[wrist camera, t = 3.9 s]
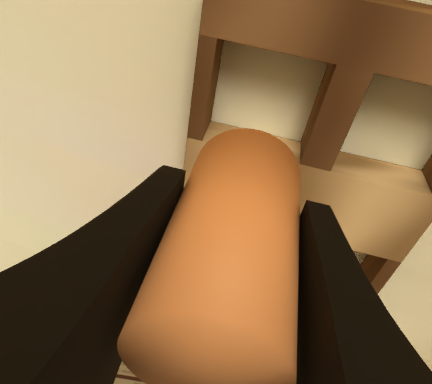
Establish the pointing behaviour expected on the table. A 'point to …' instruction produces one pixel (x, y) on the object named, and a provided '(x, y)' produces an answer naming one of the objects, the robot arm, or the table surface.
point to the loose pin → (224, 272)
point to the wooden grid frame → (333, 108)
